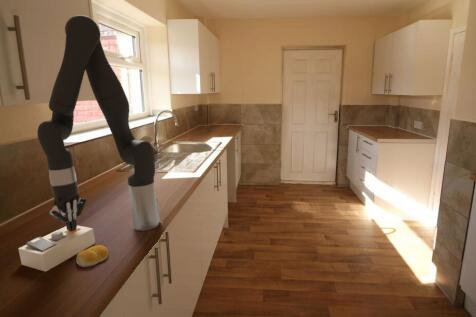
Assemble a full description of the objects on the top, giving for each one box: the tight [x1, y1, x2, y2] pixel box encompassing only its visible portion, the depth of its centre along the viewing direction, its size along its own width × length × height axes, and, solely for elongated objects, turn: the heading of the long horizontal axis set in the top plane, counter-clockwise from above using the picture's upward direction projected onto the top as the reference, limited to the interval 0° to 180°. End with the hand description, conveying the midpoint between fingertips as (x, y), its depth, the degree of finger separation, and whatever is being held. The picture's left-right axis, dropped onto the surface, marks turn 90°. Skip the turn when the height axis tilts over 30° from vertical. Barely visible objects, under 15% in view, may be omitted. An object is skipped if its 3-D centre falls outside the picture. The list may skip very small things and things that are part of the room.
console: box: [17, 224, 96, 272], centre depth 100 cm, size 18×11×6 cm, turn 156°
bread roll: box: [75, 244, 109, 268], centre depth 96 cm, size 8×9×4 cm
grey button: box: [51, 231, 64, 242], centre depth 100 cm, size 3×3×2 cm
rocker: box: [26, 236, 55, 252], centre depth 95 cm, size 4×7×1 cm, turn 66°
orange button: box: [67, 228, 78, 234], centre depth 105 cm, size 3×3×2 cm
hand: (72, 230), depth 104 cm, fingers closed
